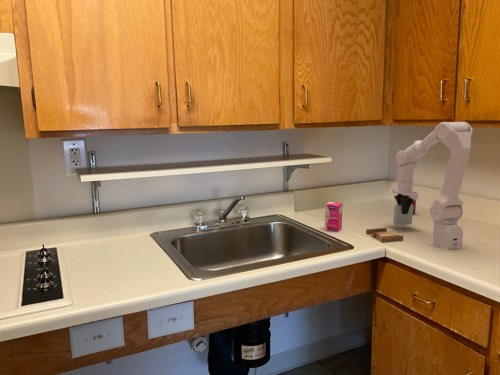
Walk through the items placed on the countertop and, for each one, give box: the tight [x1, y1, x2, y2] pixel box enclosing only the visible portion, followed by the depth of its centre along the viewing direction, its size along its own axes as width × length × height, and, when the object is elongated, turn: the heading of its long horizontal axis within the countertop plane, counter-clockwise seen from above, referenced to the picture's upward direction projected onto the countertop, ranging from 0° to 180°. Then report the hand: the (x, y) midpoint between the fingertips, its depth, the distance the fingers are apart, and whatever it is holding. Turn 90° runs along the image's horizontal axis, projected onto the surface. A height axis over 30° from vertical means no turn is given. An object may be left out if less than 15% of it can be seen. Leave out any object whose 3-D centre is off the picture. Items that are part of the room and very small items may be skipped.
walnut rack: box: [365, 227, 404, 244], centre depth 154 cm, size 12×9×2 cm
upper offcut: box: [377, 231, 400, 238], centre depth 152 cm, size 4×7×1 cm, turn 103°
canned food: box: [411, 189, 418, 215], centre depth 194 cm, size 8×8×11 cm
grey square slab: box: [392, 204, 414, 226], centre depth 165 cm, size 2×8×8 cm, turn 103°
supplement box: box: [324, 201, 344, 233], centre depth 165 cm, size 6×6×12 cm
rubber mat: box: [384, 224, 421, 234], centre depth 166 cm, size 10×10×1 cm
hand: (403, 213), depth 165 cm, fingers closed on grey square slab, 2 cm apart
